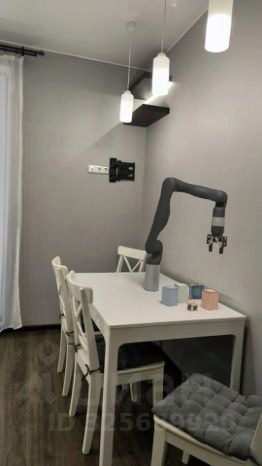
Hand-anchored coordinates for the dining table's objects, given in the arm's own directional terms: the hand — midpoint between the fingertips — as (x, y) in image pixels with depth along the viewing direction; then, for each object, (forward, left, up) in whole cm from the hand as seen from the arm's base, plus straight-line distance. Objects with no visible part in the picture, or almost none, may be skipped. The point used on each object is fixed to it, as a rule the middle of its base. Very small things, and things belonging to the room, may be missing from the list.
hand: (215, 252), depth 186 cm
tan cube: (+7, -20, -30) cm, 37 cm away
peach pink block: (+7, -8, -30) cm, 32 cm away
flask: (-11, -3, -30) cm, 32 cm away
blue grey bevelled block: (-6, -26, -30) cm, 40 cm away
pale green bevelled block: (-9, -16, -30) cm, 35 cm away
